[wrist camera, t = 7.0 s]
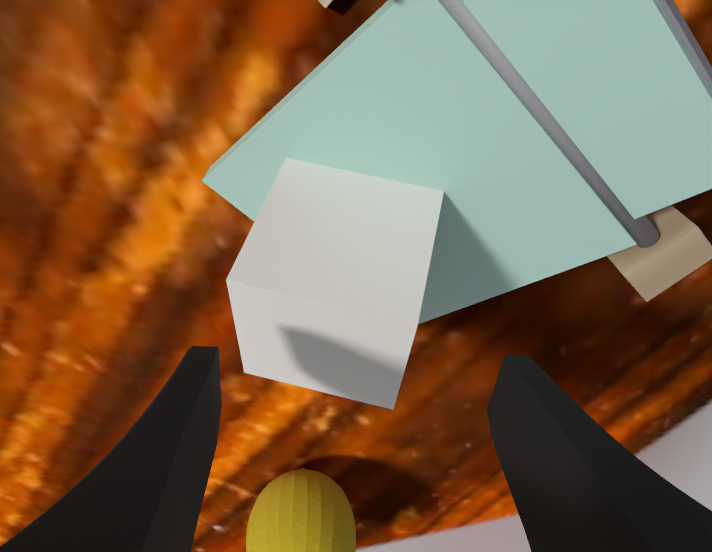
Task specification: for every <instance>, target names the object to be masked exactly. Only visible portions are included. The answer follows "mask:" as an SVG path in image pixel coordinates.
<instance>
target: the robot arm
mask: <svg viewBox="0 0 712 552" xmlns="http://www.w3.org/2000/svg"><path fill="white" fill-rule="evenodd" d="M221 407H222V406H221V387H220V368H219V350H218V347H204V346H192V347H191V348H190V349H188V351H187V352H186V354H185V356H184V357H183V359H182V361H181V362H180V364H179V365H178V367H177V368H176V370H175V371H174V373H173V374H172V376H171V377H170V379H169V380H168V381H167V383H166V384H165V386H164V387H163V388H162V390H161V391H160V392H159V394H158V395H157V396H156V398H155V399H154V400H153V402H152V403H151V404H150V406H149V407H148V408H147V409H146V411H145V412H144V413H143V414H142V416H141V417H140V418H139V419H138V420H137V422H136V423H135V424H134V425H133V426H132V427H131V429H130V430H129V431H128V432H127V433H126V434H125V436H124V437H123V438H122V439H121V440H120V441H119V442H118V443H117V445H116V446H115V447H114V448H113V449H112V450H111V451H110V452H109V453H108V454H107V455H106V456H105V457H104V458H103V459H102V460H101V461H100V462H99V463H98V464H97V465H96V466H95V467H94V468H93V469H92V470H91V471H90V472H89V473H88V474H87V475H86V476H85V477H84V478H83V479H82V480H81V481H80V482H78V483H77V484H76V485H75V486H74V487H73V488H72V489H71V490H70V491H69V492H68V493H66V494H65V495H64V496H63V497H62V498H61V499H60V500H59V501H57V502H56V503H55V504H54V505H53V506H52V507H50V508H49V509H48V510H47V511H46V512H44V513H43V514H42V515H40V516H39V517H38V518H37V519H35V520H34V521H33V522H32V523H30V524H29V525H28V526H27V527H25V528H24V529H23V530H21V531H20V532H19V533H18V534H16V535H15V536H14V537H13V538H11V539H10V540H9V541H7V542H6V543H5V544H3V545H2V546H1V547H0V552H191V548H192V543H193V538H194V534H195V529H196V525H197V521H198V517H199V513H200V509H201V505H202V501H203V498H204V494H205V490H206V486H207V482H208V478H209V474H210V470H211V466H212V461H213V457H214V453H215V449H216V445H217V437H218V430H219V423H220V415H221ZM487 414H488V419H489V423H490V428H491V433H492V437H493V441H494V446H495V449H496V452H497V455H498V458H499V461H500V463H501V466H502V469H503V472H504V475H505V477H506V480H507V483H508V486H509V488H510V491H511V494H512V497H513V499H514V502H515V505H516V507H517V510H518V513H519V516H520V518H521V521H522V524H523V527H524V529H525V532H526V535H527V539H528V542H529V545H530V548H531V552H712V511H711V510H709V509H708V508H706V507H705V506H703V505H702V504H700V503H698V502H697V501H696V500H694V499H692V498H691V497H690V496H688V495H687V494H685V493H684V492H682V491H681V490H679V489H678V488H676V487H675V486H673V485H672V484H671V483H669V482H668V481H666V480H665V479H663V478H662V477H661V476H660V475H659V474H657V473H656V472H655V471H653V470H652V469H650V468H649V467H648V466H647V465H645V464H644V463H643V462H641V461H640V460H639V459H638V458H637V457H635V456H634V455H633V454H632V453H630V452H629V451H628V450H627V449H626V448H624V447H623V446H622V445H621V444H620V443H619V442H618V441H616V440H615V439H614V438H613V437H612V436H611V435H610V434H608V433H607V432H606V431H605V430H604V429H603V428H602V427H601V426H599V425H598V424H597V423H596V422H595V421H594V420H593V419H592V418H591V417H590V416H589V415H588V414H587V413H586V412H585V411H584V410H582V409H581V408H580V407H579V406H578V405H577V404H576V403H575V402H574V401H573V400H572V399H571V398H570V397H569V396H568V395H567V394H566V393H565V392H564V391H563V390H562V389H561V388H560V387H559V386H558V385H557V384H556V383H555V382H554V381H553V380H552V379H551V378H550V377H549V376H548V375H547V374H546V373H545V372H544V370H543V369H542V368H541V367H540V366H539V365H538V364H537V363H536V362H534V361H533V360H532V359H531V358H530V357H529V356H528V355H505V357H504V360H503V363H502V366H501V369H500V372H499V375H498V378H497V381H496V385H495V388H494V391H493V394H492V397H491V400H490V403H489V406H488V409H487Z"/></svg>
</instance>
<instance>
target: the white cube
mask: <svg viewBox="0 0 712 552" xmlns="http://www.w3.org/2000/svg"><path fill="white" fill-rule="evenodd" d="M443 194H444V191H441V190H436V189H432V188H427V187H422V186H417V185H413V184H408V183H403V182H398V181H394V180H389V179H384V178H379V177H375V176H370V175H365V174H360V173H356V172H351V171H346V170H342V169H337V168H332V167H327V166H323V165H318V164H313V163H308V162H304V161H299V160H294V159H289V158H286V159H285V161H284V163H283V165H282V167H281V169H280V171H279V174H278V176H277V178H276V180H275V182H274V184H273V186H272V188H271V190H270V192H269V194H268V196H267V198H266V200H265V202H264V204H263V206H262V208H261V210H260V212H259V214H258V216H257V218H256V220H255V222H254V224H253V226H252V228H251V230H250V232H249V234H248V236H247V239H246V241H245V243H244V245H243V247H242V249H241V251H240V253H239V255H238V257H237V259H236V261H235V263H234V265H233V267H232V269H231V271H230V273H229V275H228V277H227V279H226V281H227V287H228V292H229V297H230V302H231V307H232V312H233V317H234V322H235V327H236V333H237V338H238V343H239V348H240V353H241V358H242V363H243V368H244V373H248V374H252V375H256V376H260V377H264V378H268V379H272V380H276V381H280V382H284V383H288V384H292V385H296V386H300V387H304V388H308V389H312V390H316V391H320V392H324V393H328V394H332V395H336V396H340V397H344V398H348V399H353V400H357V401H361V402H365V403H369V404H373V405H377V406H381V407H385V408H389V409H393V408H394V405H395V402H396V398H397V395H398V391H399V388H400V384H401V381H402V377H403V374H404V371H405V367H406V364H407V360H408V357H409V353H410V350H411V346H412V343H413V340H414V336H415V333H416V329H417V326H418V321H419V316H420V311H421V306H422V301H423V296H424V291H425V286H426V280H427V275H428V270H429V265H430V260H431V255H432V250H433V245H434V240H435V235H436V230H437V224H438V219H439V214H440V209H441V204H442V199H443Z"/></svg>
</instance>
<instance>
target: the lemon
mask: <svg viewBox="0 0 712 552" xmlns="http://www.w3.org/2000/svg"><path fill="white" fill-rule="evenodd" d="M355 550H356V533H355V521H354V516H353V512H352V508H351V506H350V503H349V501H348V499H347V497H346V495H345V494H344V492H343V490H342V489H341V488H340V486H339V485H338V484H337V483H335V482H334V481H333V480H332V479H331V478H330V477H328V476H326V475H325V474H323V473H321V472H318V471H314V470H308V469H305V468H300V469H298V470H293V471H289V472H286V473H284V474H281V475H280V476H278V477H277V478H275V479H274V480H272V481H271V482H270V483H269V484H268V485H267V486H266V487H265V488H264V489H263V491H262V492H261V493H260V494H259V496H258V498H257V500H256V502H255V505H254V507H253V510H252V512H251V515H250V518H249V522H248V527H247V535H246V551H247V552H355Z"/></svg>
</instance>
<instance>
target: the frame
mask: <svg viewBox="0 0 712 552" xmlns="http://www.w3.org/2000/svg"><path fill="white" fill-rule="evenodd" d="M318 1H319V2H320V3H321V4H322V5H323V6H324V7H325V8H326V7H327V6H328V5H329V4H330V3H331V1H332V0H318ZM645 216H646V217H647V218H648V220H649V221H650V222H651V224H652V225H653V226H654V227H655V229H656V230H657V231H658V233H659V238H658V240H657V241H656V242H655V243H654V244H653V245H651V246H649V247H646V248H640V247H638V246H637V245H635V246H632V247H629V248H627V249H624V250H621V251H618V252H616V253H613V254H610V255H607V257H608V258H609V259H610V260H611V261H612V263H613V264H614V265H615V266H616V267H617V268H618V270H619V271H620V272H621V273H622V274H623V275H624V276H625V278H626V279H627V280H628V281H629V282H630V283H631V285H632V286H633V287H634V288H635V289H636V290H637V291H638V293H639V294H640V295H641V296H642V297H643V298H644V299H645V301H646V302H648V301H649V300H651V299H652V298H654V297H655V296H657V295H658V294H660V293H661V292H663V291H664V290H666V289H667V288H669V287H670V286H672V285H673V284H675V283H676V282H678V281H679V280H681V279H682V278H684V277H685V276H687V275H688V274H690V273H691V272H693V271H694V270H696V269H697V268H699V267H700V266H702V265H703V264H705V263H706V262H708V261H709V260H711V259H712V246H711V244H710V243H709V241H708V240H707V239H706V237H705V236H704V234H703V233H702V232H701V230H700V229H699V227H698V226H697V225H695V224H694V223H693V222H692V221H690V220H689V219H688V218H687V217H685V216H684V215H683V214H682V213H680V212H679V211H678V210H677V209H675V208H674V207H673V206H672V205H669V206H667V207H664V208H662V209H659V210H657V211H654V212H651V213H649V214H646V215H645Z"/></svg>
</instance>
